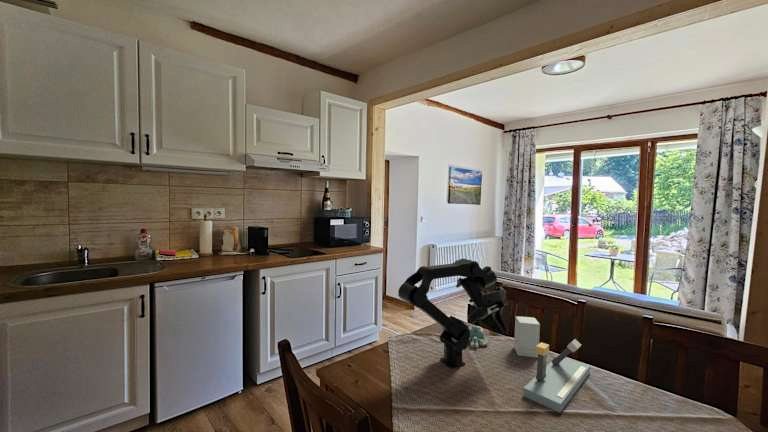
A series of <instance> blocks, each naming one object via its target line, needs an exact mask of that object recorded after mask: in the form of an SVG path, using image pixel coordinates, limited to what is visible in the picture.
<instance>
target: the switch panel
mask: <svg viewBox="0 0 768 432" xmlns="http://www.w3.org/2000/svg"><path fill="white" fill-rule="evenodd" d="M558 355H559V354H558ZM558 355H556V356H555V357H557V356H558ZM590 373H591V365H589V364H585V363H583V362H579V361H577V360H574V359H571V358H568V357H565V358H564V359H563V360H562V361H561V362H560V363H559V364H558V365H557V366H555V365H553V364H552V360H551V361H550V362H549V363H548V364H546V378H545V379H544V380H543V381H541V382H539V381H538V380H537V379H536V375H535V376H534V377H533V378H532V379H531V380H530V381H529V382H528V383H527V384H526V385H525V386H524V387H523V392H522V393H523V394H522V395H523V397H525V398H526V399H528V400H531V401H533V402H536V403H538V404H540V405H542V406H545V407H547V408H548V409H551V410H554V411H555V412H556V413H562V411H563V410H564V409H565V407H566V406H567V404H568V403H569V402H570V400H572V398H573V396H574V395H575V393H576V392H577V391H578V390H579V388H580V387H581V385H582V384H583V383H584V382H585V380H586V379H587V377H588V376H589V374H590Z"/></svg>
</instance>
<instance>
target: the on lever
mask: <svg viewBox="0 0 768 432" xmlns="http://www.w3.org/2000/svg"><path fill="white" fill-rule="evenodd" d="M581 346H582V344H581V343H580V342H579V341H578V340H577V339H576V338H574V339H573V340H572V341H571V342H569V343H568V345H566V348H565V349H564V350H562V352H561V353H559V354H558V356H557V355H556V356H557V357H556V356H555V357H554V358H553V359H552V360H551V361H552V364H553V365H555V366H557V365H558V364H559V363H560V362H561V361H562V360H563V359H564V358H568V356H569V355H570V354H571V353H576V352H577V350H578V349H579V348H581Z"/></svg>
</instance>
